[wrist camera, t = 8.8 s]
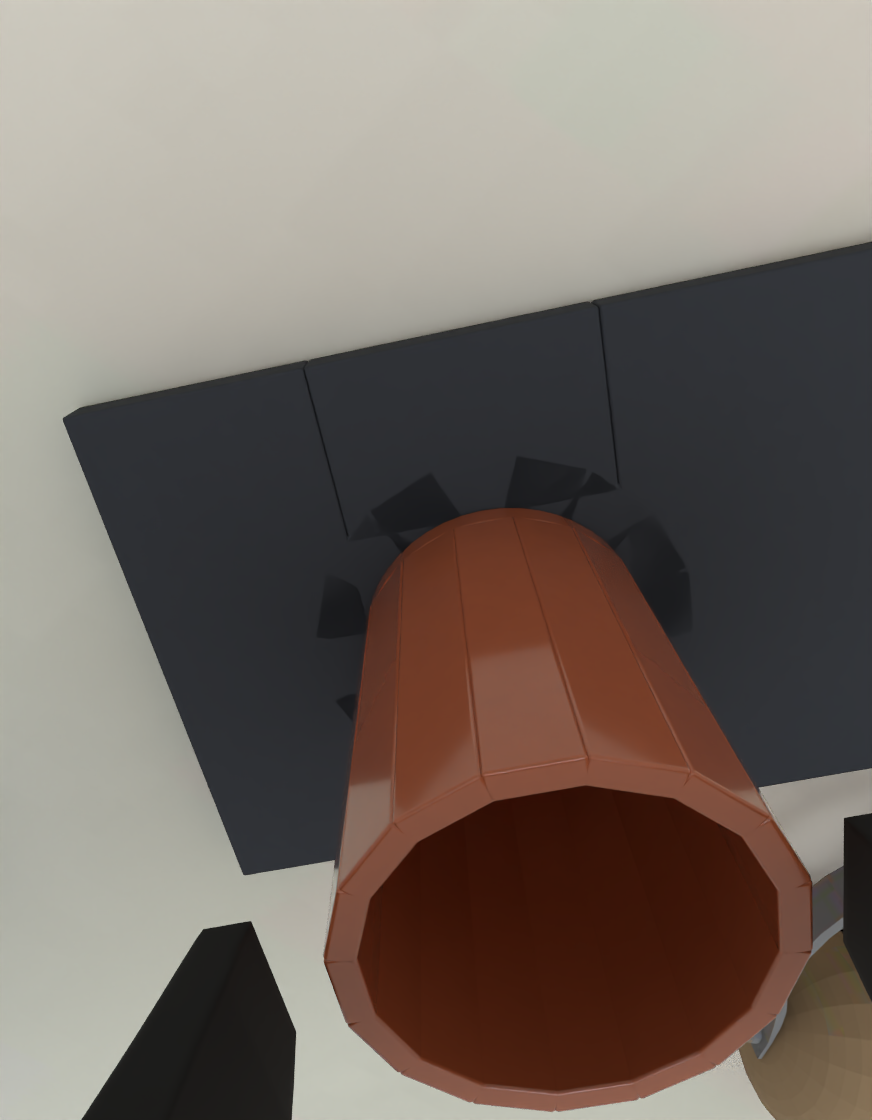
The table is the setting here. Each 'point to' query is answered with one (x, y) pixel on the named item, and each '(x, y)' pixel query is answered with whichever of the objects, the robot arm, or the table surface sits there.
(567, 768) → the cup
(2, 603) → the table surface
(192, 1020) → the robot arm
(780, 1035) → the alarm clock
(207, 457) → the drain mat
